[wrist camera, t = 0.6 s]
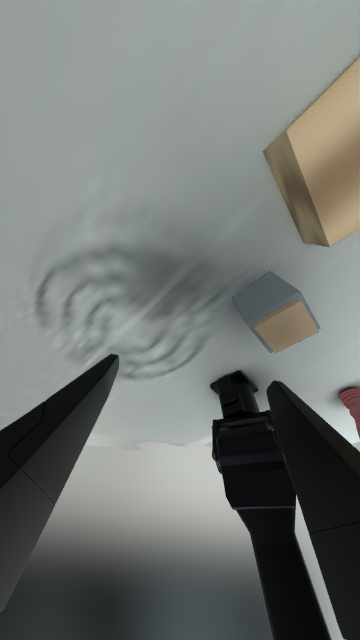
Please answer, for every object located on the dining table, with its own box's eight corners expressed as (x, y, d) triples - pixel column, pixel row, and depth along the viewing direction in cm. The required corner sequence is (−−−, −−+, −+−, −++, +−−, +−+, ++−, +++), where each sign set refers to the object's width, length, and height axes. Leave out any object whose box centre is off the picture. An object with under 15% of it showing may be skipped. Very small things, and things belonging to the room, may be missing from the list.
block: (412, 163, 13) (488, 144, 10) (301, 241, 17) (330, 247, 13) (396, 17, 10) (502, -85, 7) (261, 153, 13) (286, 130, 10)
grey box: (287, 300, 20) (325, 332, 15) (251, 322, 22) (272, 357, 17) (269, 271, 18) (304, 294, 13) (231, 297, 20) (248, 327, 15)
